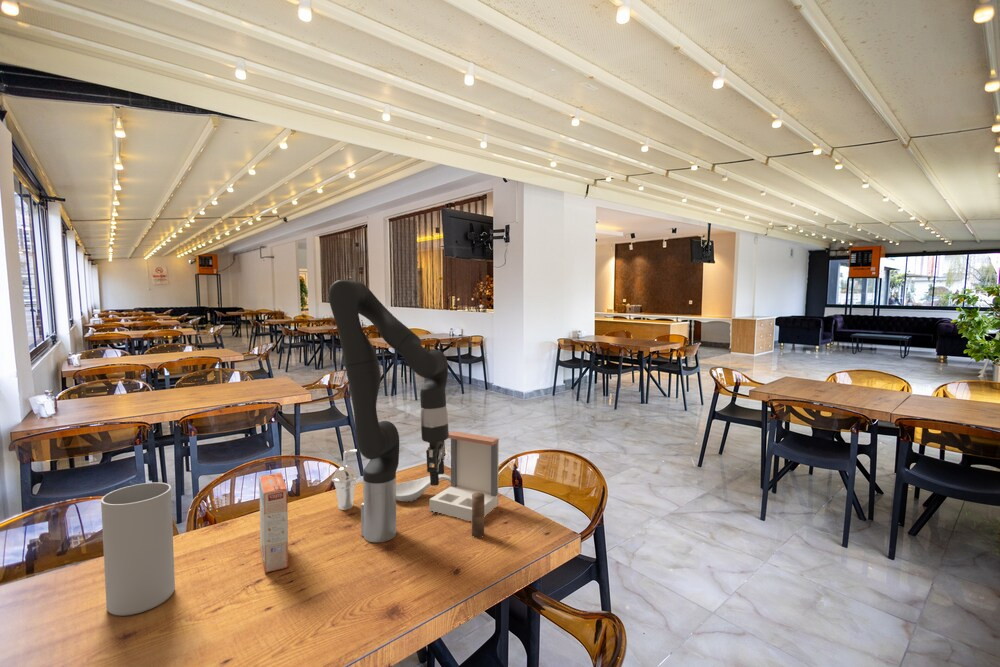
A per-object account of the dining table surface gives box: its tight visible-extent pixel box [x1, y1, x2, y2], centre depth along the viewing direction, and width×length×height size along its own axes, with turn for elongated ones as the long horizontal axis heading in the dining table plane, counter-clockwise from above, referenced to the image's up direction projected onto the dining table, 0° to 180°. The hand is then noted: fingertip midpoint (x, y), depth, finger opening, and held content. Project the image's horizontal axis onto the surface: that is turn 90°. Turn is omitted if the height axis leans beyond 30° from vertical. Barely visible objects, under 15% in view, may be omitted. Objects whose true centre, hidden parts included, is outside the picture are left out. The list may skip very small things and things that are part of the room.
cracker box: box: [258, 472, 289, 574], centre depth 126 cm, size 14×6×21 cm, turn 30°
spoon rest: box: [396, 473, 451, 503], centre depth 168 cm, size 24×12×7 cm, turn 109°
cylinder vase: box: [100, 482, 176, 617], centre depth 108 cm, size 12×12×25 cm
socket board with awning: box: [428, 430, 500, 522], centre depth 157 cm, size 18×14×23 cm
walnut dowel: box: [471, 493, 485, 538], centre depth 140 cm, size 4×4×12 cm
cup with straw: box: [331, 449, 360, 511], centre depth 157 cm, size 8×9×20 cm
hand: (437, 479), depth 134 cm, fingers open, 8 cm apart
